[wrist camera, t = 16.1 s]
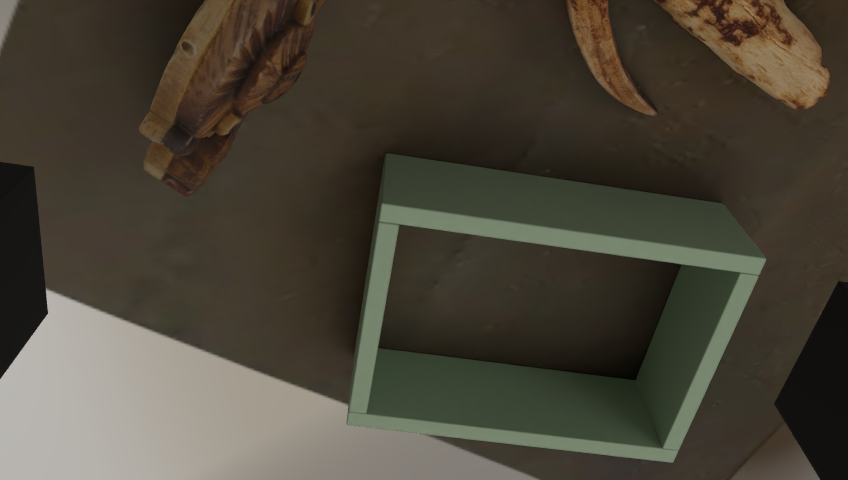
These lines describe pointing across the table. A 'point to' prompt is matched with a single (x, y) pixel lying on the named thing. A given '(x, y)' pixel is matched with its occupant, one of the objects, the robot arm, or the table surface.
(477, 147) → the table surface
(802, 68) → the lashed bone hook
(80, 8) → the table surface
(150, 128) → the wooden carving
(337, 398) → the table surface
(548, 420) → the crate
